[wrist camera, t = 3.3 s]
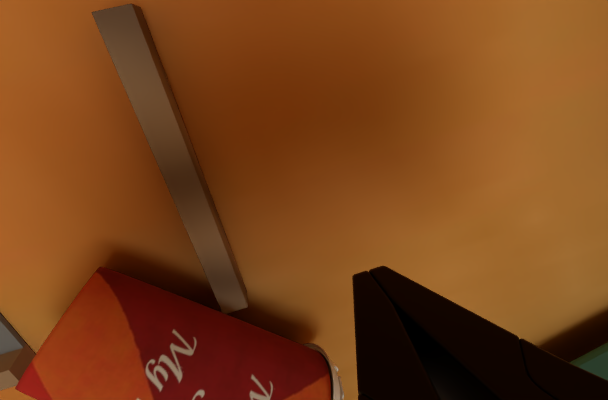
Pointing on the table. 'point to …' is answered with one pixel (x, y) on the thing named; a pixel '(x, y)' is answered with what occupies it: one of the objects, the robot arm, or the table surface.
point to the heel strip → (171, 147)
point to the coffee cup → (169, 352)
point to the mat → (12, 355)
